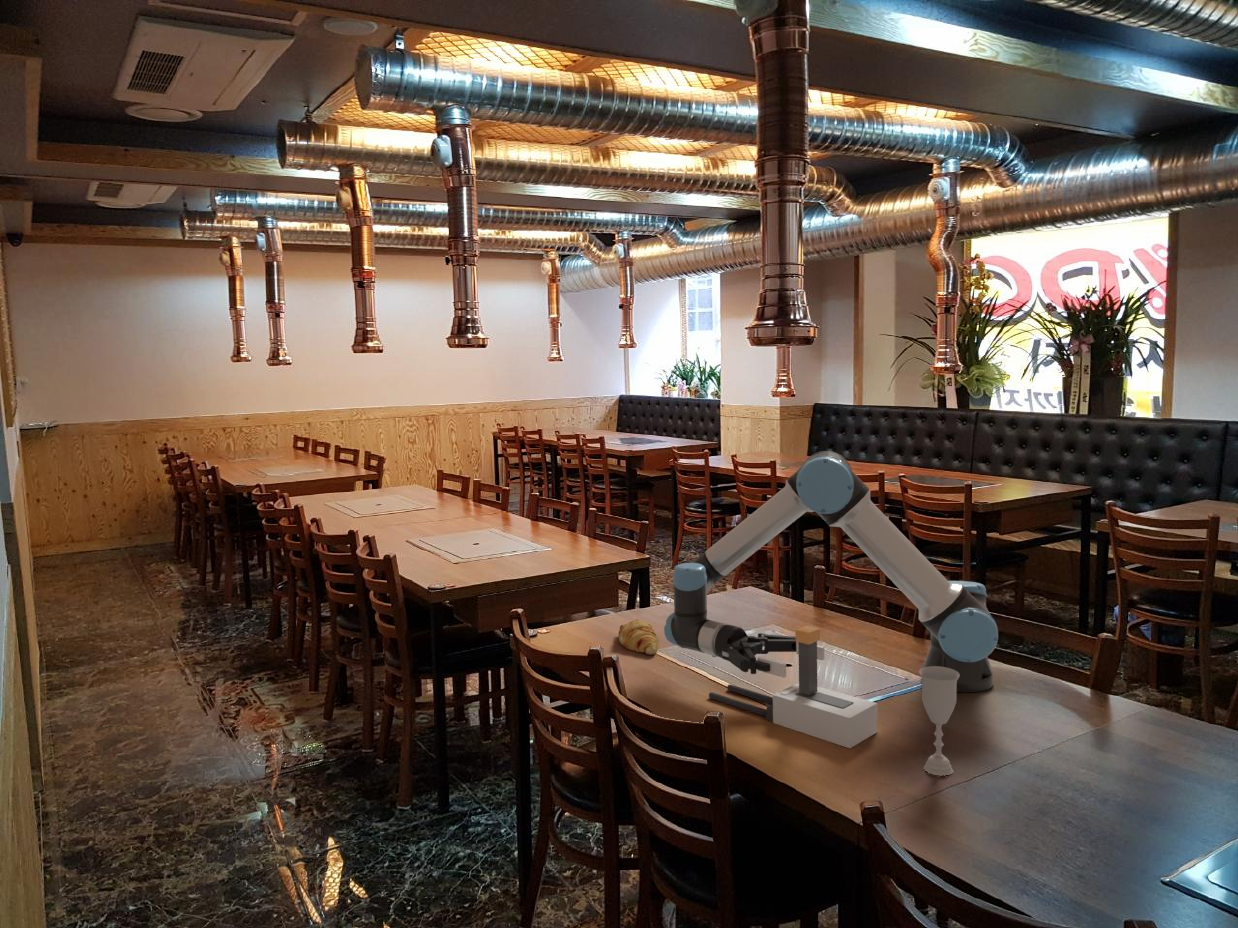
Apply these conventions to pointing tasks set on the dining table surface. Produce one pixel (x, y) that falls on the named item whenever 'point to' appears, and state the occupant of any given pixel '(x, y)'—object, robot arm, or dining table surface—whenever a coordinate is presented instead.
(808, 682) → the lever
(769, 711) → the grey u-shaped fork
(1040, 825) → the dining table surface
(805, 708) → the box
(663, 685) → the dining table surface
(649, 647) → the croissant
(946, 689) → the chalice
